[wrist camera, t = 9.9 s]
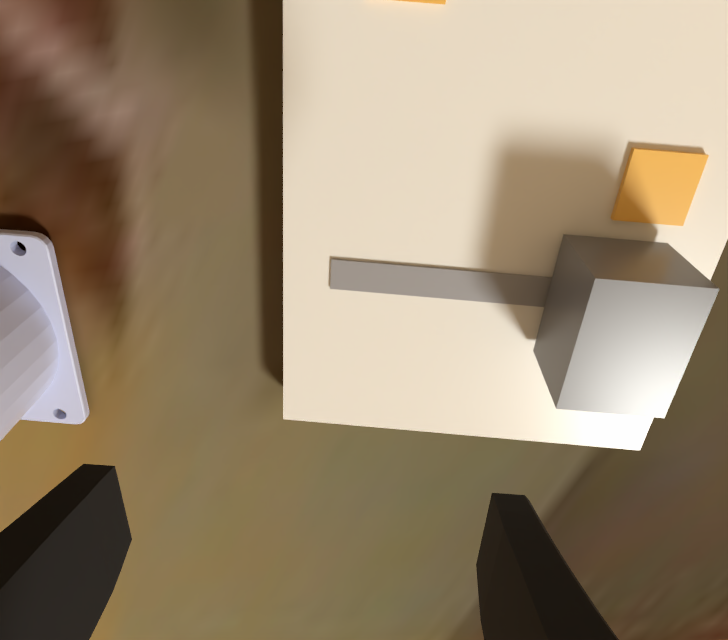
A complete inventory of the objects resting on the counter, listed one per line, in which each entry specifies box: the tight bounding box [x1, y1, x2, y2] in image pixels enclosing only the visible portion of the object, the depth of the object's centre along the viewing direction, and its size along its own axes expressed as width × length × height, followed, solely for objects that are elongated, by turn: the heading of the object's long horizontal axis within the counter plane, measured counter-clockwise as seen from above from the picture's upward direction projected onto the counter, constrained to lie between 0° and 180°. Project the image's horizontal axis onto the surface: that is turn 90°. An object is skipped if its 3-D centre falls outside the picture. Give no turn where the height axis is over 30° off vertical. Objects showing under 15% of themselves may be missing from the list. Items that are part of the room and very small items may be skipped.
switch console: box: [283, 0, 728, 450], centre depth 15 cm, size 13×24×2 cm, turn 176°
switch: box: [533, 234, 719, 418], centre depth 16 cm, size 3×4×3 cm
